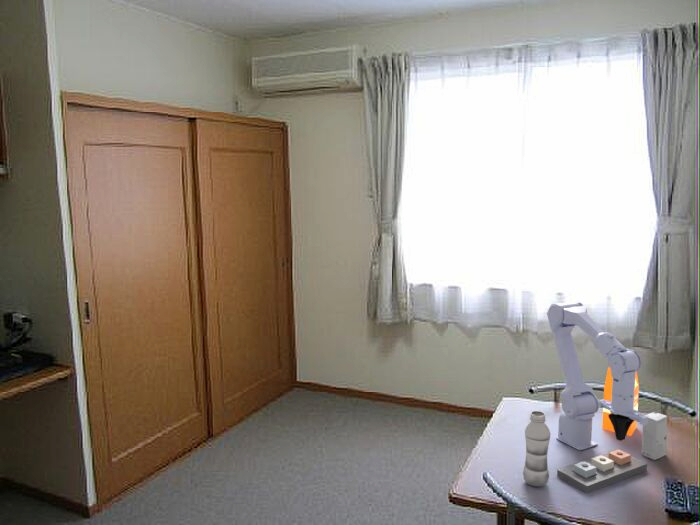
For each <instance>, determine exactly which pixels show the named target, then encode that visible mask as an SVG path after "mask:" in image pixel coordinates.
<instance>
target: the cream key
mask: <svg viewBox="0 0 700 525" xmlns="http://www.w3.org/2000/svg"><path fill="white" fill-rule="evenodd" d="M600 455H601V454H600ZM597 456H598V455H597ZM594 457H595V456H594ZM591 458H592V457H591ZM592 465H593V466H595V467H596V468H598V469H600V470H602V471H606V470H609V469H612V468H614V461H613V460H611V459H608V458H606V457H604V456H602V455H601V456H598V457H595V458H592Z"/></svg>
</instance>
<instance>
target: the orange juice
mask: <svg viewBox="0 0 700 525" xmlns="http://www.w3.org/2000/svg"><path fill="white" fill-rule="evenodd" d="M605 377H606V378H605V382H604V387H603V388H604V389H603V399H604V400H607V401H610V402H611V398H612V378H613V377H612V375H611V369H610V367H609V366H608V367H607V373H606V376H605ZM639 390H640V385H639V379H638V371H636V375H635V392H634V409H635V410H637V411H638V410H639V409H638V408H639V393H640V392H639ZM638 412H639V411H638ZM609 414H611V413H610V410H608V409H605V408H603V407H602V427H601V429H602V430H606V431H611V432H614V433H615V431H614V428H613V425H612V423H611V421H610V419H609V417H608V415H609ZM637 425H638V422H637V421H635V420H634V422H633V423H632V424H631V426H630V428H629V430H628V432H627V434H626V436H629V437H630V436H632V435H633V434H634V432H635V431H636V429H637V428H638V426H637Z"/></svg>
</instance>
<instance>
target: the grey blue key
mask: <svg viewBox="0 0 700 525" xmlns="http://www.w3.org/2000/svg"><path fill="white" fill-rule="evenodd" d="M582 461H583V460H582ZM579 462H580V461H579ZM576 463H577V462H576ZM573 464H574V472H576V473H577V474H579V475H581V476H583V477H585V478H587V477H590V476H593V475H595V474H596V467H595V466H593V465H591V464H589V463H587V462H585V461H583V462H580V463H577V464H575V463H573Z"/></svg>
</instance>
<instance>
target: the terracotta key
mask: <svg viewBox="0 0 700 525" xmlns="http://www.w3.org/2000/svg"><path fill="white" fill-rule="evenodd" d="M614 450H615V449H614ZM611 451H612V452H610V451H608V452H609V459H611V460H613V461H614V462H615V463H617V464H619V465H623V464H626V463H628V462H630V460H631V456H632V455H631V454H629V453H627V452H625V451H623V450H621V449H617V450H615V451H613V450H611Z"/></svg>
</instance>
